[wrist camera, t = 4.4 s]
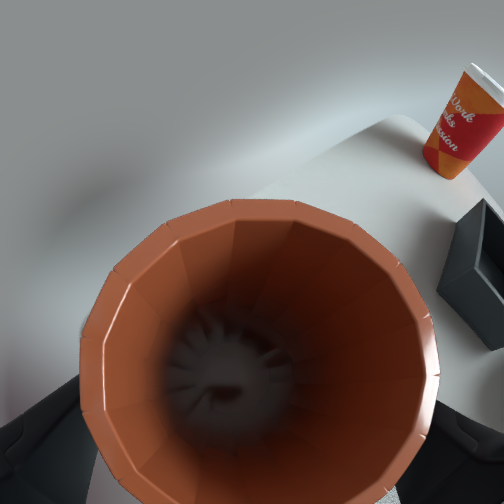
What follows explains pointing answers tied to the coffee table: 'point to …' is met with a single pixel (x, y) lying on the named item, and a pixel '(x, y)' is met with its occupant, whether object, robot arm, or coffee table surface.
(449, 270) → the tub
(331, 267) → the tumbler
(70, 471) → the robot arm
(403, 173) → the coffee table surface
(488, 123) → the coffee cup
